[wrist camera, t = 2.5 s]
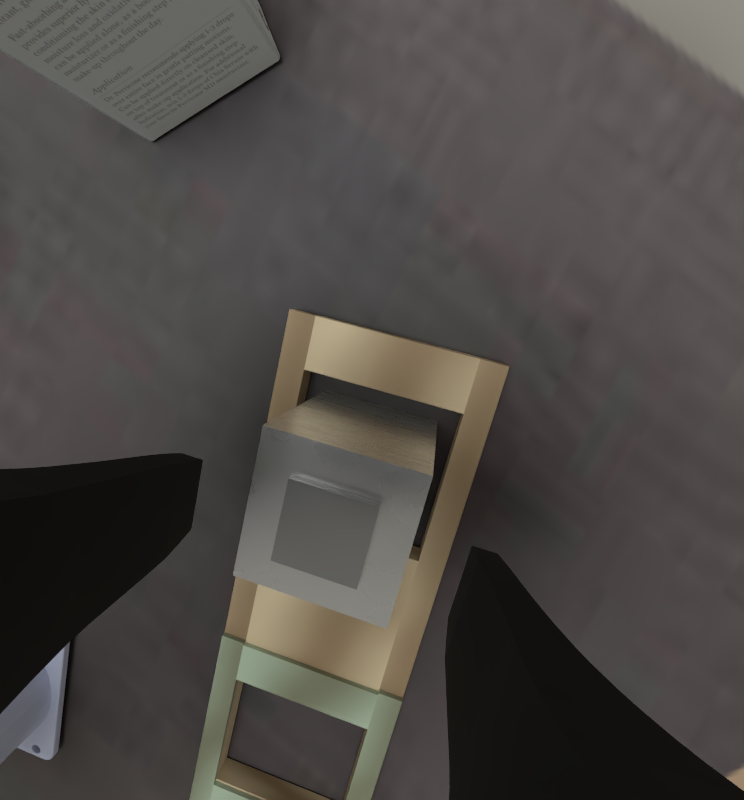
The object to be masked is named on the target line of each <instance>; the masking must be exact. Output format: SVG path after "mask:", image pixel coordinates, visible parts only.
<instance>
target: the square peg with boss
mask: <svg viewBox="0 0 744 800" xmlns="http://www.w3.org/2000/svg"><path fill="white" fill-rule="evenodd" d="M437 423H438V421H435V420H431V419H428V418H424V417H420V416H417V415H413V414H410V413H406V412H403V411H399V410H396V409H392V408H389V407H385V406H382V405H378V404H375V403H371V402H368V401H364V400H361V399H357V398H353V397H350V396H346V395H343V394H339V393H336V392H332V391H329V390H325V391H324V392H322V393H320V394H318V395H316V396H315V397H313V398H311V399H309V400H307V401H306V402H304V403H302V404H300V405H298V406H296V407H295V408H293V409H291V410H289V411H287V412H286V413H284V414H282V415H280V416H278V417H277V418H275V419H273V420H271V421H269V422H267V423H266V424H264V425H263V426H262V431H261V436H260V442H259V447H258V452H257V457H256V462H255V467H254V472H253V477H252V482H251V487H250V492H249V497H248V502H247V507H246V512H245V517H244V522H243V527H242V532H241V537H240V542H239V547H238V552H237V557H236V562H235V567H234V572H233V576H236V577H239V578H242V579H245V580H248V581H251V582H253V583H256V584H259V585H262V586H265V587H268V588H271V589H274V590H276V591H279V592H282V593H285V594H288V595H291V596H294V597H296V598H299V599H302V600H305V601H308V602H311V603H314V604H317V605H319V606H322V607H325V608H328V609H331V610H334V611H337V612H340V613H342V614H345V615H348V616H351V617H354V618H357V619H360V620H362V621H365V622H368V623H371V624H374V625H377V626H380V627H383V628H385V629H387V628H388V625H389V622H390V618H391V615H392V612H393V608H394V605H395V602H396V598H397V595H398V592H399V588H400V585H401V582H402V578H403V575H404V572H405V568H406V565H407V562H408V558H409V555H410V552H411V548H412V545H413V541H414V538H415V535H416V531H417V528H418V525H419V521H420V518H421V515H422V511H423V508H424V505H425V501H426V498H427V495H428V491H429V488H430V485H431V481H432V478H433V471H434V459H435V447H436V435H437Z"/></svg>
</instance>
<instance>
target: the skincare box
mask: <svg viewBox="0 0 744 800" xmlns="http://www.w3.org/2000/svg"><path fill="white" fill-rule="evenodd" d="M0 51H2V52H3V53H5V54H7V55H8V56H10V57H12V58H13V59H15V60H17V61H18V62H20V63H21V64H23V65H25V66H26V67H28V68H29V69H31V70H33V71H34V72H36V73H38V74H39V75H41V76H43V77H44V78H46V79H48V80H49V81H51V82H53V83H54V84H56V85H57V86H59V87H61V88H62V89H64V90H65V91H67V92H69V93H70V94H72V95H74V96H75V97H77V98H79V99H80V100H82V101H84V102H85V103H87V104H88V105H90V106H92V107H93V108H95V109H97V110H98V111H100V112H102V113H103V114H105V115H107V116H108V117H110V118H112V119H113V120H115V121H116V122H118V123H120V124H121V125H123V126H125V127H126V128H128V129H130V130H131V131H133V132H134V133H136V134H138V135H139V136H141V137H143V138H145V139H146V140H149V141H154V140H156V139H157V138H158V137H160V136H161V135H163V134H164V133H166V132H168V131H169V130H171V129H172V128H174V127H175V126H177V125H178V124H180V123H182V122H183V121H185V120H186V119H188V118H189V117H191V116H193V115H194V114H196V113H197V112H199V111H200V110H202V109H204V108H205V107H207V106H208V105H210V104H211V103H213V102H214V101H216V100H217V99H219V98H221V97H222V96H224V95H225V94H227V93H229V92H230V91H232V90H233V89H235V88H236V87H238V86H240V85H241V84H243V83H244V82H246V81H247V80H249V79H251V78H252V77H254V76H255V75H257V74H258V73H260V72H261V71H263V70H265V69H266V68H268V67H269V66H271V65H273V64H274V63H276V62H278V61H279V60H280V55H279V52H278V49H277V47H276V45H275V42H274V40H273V37H272V35H271V32H270V30H269V27H268V25H267V22H266V19H265V17H264V14H263V12H262V9H261V7H260V4H259V2H258V0H0Z"/></svg>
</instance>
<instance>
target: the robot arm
mask: <svg viewBox="0 0 744 800" xmlns="http://www.w3.org/2000/svg"><path fill="white" fill-rule="evenodd" d="M202 462H203V460H201V459H198V458H195V457H191V456H188V455H185V454H182V453H171V454H158V455H148V456H140V457H132V458H124V459H116V460H108V461H100V462H91V463H81V464H71V465H61V466H51V467H38V468H21V469H0V764H1V763H2V762H3V761H4V760H5V759H6V758H7V757H8V756H9V755H10V754H11V753H12V752H13V751H14V750H15V749H16V748H19V749H21V750H23V751H26V752H28V753H30V754H33V755H35V756H37V757H40V758H42V759H45V760H50V759H52V758H53V757H54V755H55V754H56V753H57V752H58V749H59V740H60V730H61V721H62V712H63V702H64V693H65V684H66V674H67V665H68V656H69V646H70V641H71V640H72V639H73V638H74V637H75V636H76V635H77V634H79V633H80V632H81V631H82V630H83V629H84V628H85V627H86V626H87V625H88V624H89V623H91V622H92V621H93V620H94V619H95V618H97V617H98V616H99V615H100V614H101V613H102V612H104V611H105V610H106V609H107V608H108V607H109V606H111V605H112V604H113V603H114V602H115V601H116V600H118V599H119V598H120V597H121V596H122V595H124V594H125V593H126V592H127V591H128V590H129V589H131V588H132V587H133V586H134V585H135V584H136V583H138V582H139V581H140V580H141V579H142V578H143V577H145V576H146V575H147V574H148V573H149V572H150V571H151V570H153V569H154V568H155V567H156V566H157V565H158V564H159V563H161V562H162V561H163V560H164V559H165V558H166V557H167V556H168V555H169V554H170V553H171V552H172V550H173V549H174V548H175V547H176V546H177V545H178V544H179V543H180V542H181V540H182V539H183V538H184V537H185V536H186V534H187V533H188V532H189V531H190V530H191V527H192V522H193V516H194V510H195V504H196V498H197V492H198V486H199V480H200V474H201V468H202ZM445 670H446V696H447V718H448V741H449V769H450V792H449V800H744V791H743V790H741V789H740V788H738V787H737V786H736V785H735V784H733V783H732V782H731V781H729V780H728V779H727V778H725V777H724V776H723V775H721V774H720V773H718V772H717V771H716V770H714V769H713V768H712V767H710V766H709V765H708V764H706V763H705V762H704V761H703V760H701V759H700V758H699V757H697V756H696V755H695V754H694V753H692V752H691V751H690V750H689V749H687V748H686V747H685V746H684V745H682V744H681V743H680V742H678V741H677V740H676V739H675V738H673V737H672V736H671V735H670V734H669V733H668V732H666V731H665V730H664V729H663V728H662V727H660V726H659V725H658V724H657V723H656V722H655V721H653V720H652V719H651V718H650V717H649V716H647V715H646V714H645V713H644V712H643V711H642V710H640V709H639V708H638V707H637V706H636V705H635V704H633V703H632V702H631V701H630V700H629V699H628V698H627V697H626V696H625V695H623V694H622V693H621V692H620V691H619V690H618V689H617V688H616V687H615V686H614V685H613V684H612V683H611V682H610V681H609V680H608V679H606V678H605V677H604V676H603V675H602V674H601V673H600V672H599V671H598V670H597V669H596V668H595V667H594V666H593V665H592V664H591V663H590V662H589V661H588V660H587V659H586V658H585V657H584V656H583V655H582V654H581V653H580V652H579V651H578V650H577V649H576V648H575V646H574V645H573V644H572V643H571V642H570V641H569V640H568V639H567V638H566V636H565V635H564V634H563V633H562V632H561V631H560V630H559V629H558V628H557V626H556V625H555V624H554V623H553V622H552V621H551V619H550V618H549V617H548V616H547V615H546V614H545V612H544V611H543V610H542V609H541V608H540V606H539V605H538V604H537V603H536V601H535V600H534V599H533V598H532V596H531V595H530V594H529V593H528V591H527V590H526V589H525V588H524V586H523V585H522V584H521V582H520V581H519V580H518V578H517V577H516V576H515V575H514V573H513V572H512V571H511V569H510V568H509V567H508V566H507V564H506V563H505V562H504V561H503V560H502V558H501V557H500V556H499V555H498V554H496V553H493V552H490V551H487V550H484V549H481V548H477V547H474V546H472V548H471V551H470V554H469V557H468V560H467V563H466V566H465V569H464V572H463V575H462V578H461V581H460V584H459V587H458V590H457V593H456V596H455V599H454V602H453V605H452V608H451V611H450V614H449V617H448V627H447V638H446V652H445Z"/></svg>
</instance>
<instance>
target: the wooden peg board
mask: <svg viewBox="0 0 744 800" xmlns="http://www.w3.org/2000/svg"><path fill="white" fill-rule="evenodd" d="M508 370H509V366H508V365H506V364H504V363H500V362H496V361H492V360H489V359H485V358H481V357H477V356H473V355H470V354H466V353H462V352H458V351H454V350H450V349H447V348H443V347H439V346H435V345H431V344H427V343H424V342H420V341H416V340H412V339H408V338H405V337H401V336H397V335H393V334H389V333H385V332H382V331H378V330H374V329H370V328H366V327H363V326H359V325H355V324H351V323H347V322H343V321H340V320H336V319H332V318H328V317H324V316H320V315H317V314H313V313H309V312H305V311H301V310H295V309H289V314H288V319H287V324H286V329H285V334H284V339H283V344H282V349H281V354H280V359H279V364H278V369H277V374H276V379H275V384H274V389H273V394H272V399H271V404H270V409H269V414H268V419H267V422H269V421H271V420H273V419H275V418H277V417H278V416H280V415H282V414H284V413H286V412H287V411H289V410H291V409H293V408H295V407H296V406H298V405H300V404H302V403H304V402H305V398H306V394H307V389H308V384H309V380H310V375H311V371H312V372H315V373H319V374H322V375H326V376H329V377H333V378H337V379H340V380H344V381H347V382H351V383H354V384H358V385H362V386H365V387H369V388H372V389H376V390H380V391H383V392H387V393H390V394H394V395H397V396H401V397H405V398H408V399H412V400H415V401H419V402H423V403H426V404H430V405H433V406H437V407H440V408H444V409H448V410H451V411H455V412H458V413H461V415H460V418H459V422H458V425H457V428H456V432H455V435H454V438H453V441H452V445H451V448H450V451H449V455H448V458H447V461H446V464H445V468H444V471H443V474H442V478H441V481H440V484H439V487H438V491H437V494H436V497H435V501H434V504H433V507H432V510H431V514H430V517H429V520H428V524H427V527H426V530H425V533H424V537H423V540H422V543H421V547H420V548H419V547H416V546H412V548H411V552H410V555H409V558H408V562H407V565H406V568H405V572H404V575H403V578H402V582H401V585H400V588H399V592H398V595H397V598H396V602H395V605H394V608H393V612H392V615H391V618H390V622H389V625H388V628H387V629H385V628H383V627H380V626H377V625H374V624H371V623H368V622H365V621H362V620H360V619H357V618H354V617H351V616H348V615H345V614H342V613H340V612H337V611H334V610H331V609H328V608H325V607H322V606H319V605H317V604H314V603H311V602H308V601H305V600H302V599H299V598H296V597H294V596H291V595H288V594H285V593H282V592H279V591H276V590H274V589H271V588H268V587H265V586H262V585H259V584H256V583H253V582H251V581H248V580H245V579H242V578H239V577H236V578H235V583H234V588H233V593H232V598H231V603H230V608H229V613H228V618H227V623H226V628H225V632H224V634H223V635H222V640H221V645H220V650H219V655H218V660H217V665H216V670H215V675H214V680H213V685H212V690H211V695H210V700H209V705H208V710H207V715H206V720H205V725H204V730H203V735H202V740H201V745H200V750H199V755H198V760H197V765H196V770H195V775H194V780H193V785H192V790H191V795H190V800H331V799H328V798H326V797H323V796H321V795H318V794H316V793H313V792H311V791H308V790H306V789H303V788H301V787H299V786H296V785H294V784H291V783H289V782H286V781H284V780H281V779H279V778H276V777H274V776H271V775H269V774H267V773H264V772H262V771H259V770H257V769H254V768H252V767H249V766H247V765H244V764H242V763H239V762H237V761H235V760H232V759H230V758H227V755H228V750H229V745H230V741H231V736H232V732H233V727H234V723H235V718H236V713H237V709H238V704H239V700H240V695H241V691H242V686H243V682H244V683H247V684H249V685H252V686H255V687H257V688H260V689H263V690H265V691H268V692H270V693H273V694H276V695H278V696H281V697H284V698H286V699H289V700H291V701H294V702H297V703H299V704H302V705H305V706H307V707H310V708H312V709H315V710H318V711H320V712H323V713H326V714H328V715H331V716H333V717H336V718H339V719H341V720H344V721H347V722H349V723H352V724H354V725H357V726H360V727H362V728H365V730H364V734H363V737H362V740H361V744H360V747H359V750H358V753H357V757H356V760H355V763H354V767H353V770H352V773H351V776H350V780H349V783H348V786H347V790H346V793H345V796H344V799H343V800H371V797H372V794H373V791H374V788H375V785H376V782H377V779H378V776H379V773H380V769H381V766H382V763H383V760H384V757H385V754H386V751H387V748H388V745H389V742H390V738H391V735H392V732H393V729H394V726H395V723H396V720H397V717H398V714H399V711H400V708H401V704H402V700H403V695H404V692H405V689H406V686H407V683H408V680H409V677H410V674H411V671H412V668H413V664H414V661H415V658H416V655H417V652H418V649H419V646H420V643H421V640H422V637H423V633H424V630H425V627H426V624H427V621H428V618H429V615H430V612H431V609H432V606H433V602H434V599H435V596H436V593H437V590H438V587H439V584H440V581H441V578H442V575H443V571H444V568H445V565H446V562H447V559H448V556H449V553H450V550H451V547H452V544H453V540H454V537H455V534H456V531H457V528H458V525H459V522H460V519H461V516H462V513H463V509H464V506H465V503H466V500H467V497H468V494H469V491H470V488H471V485H472V482H473V478H474V475H475V472H476V469H477V466H478V463H479V460H480V457H481V454H482V451H483V447H484V444H485V441H486V438H487V435H488V432H489V429H490V426H491V423H492V420H493V416H494V413H495V410H496V407H497V404H498V401H499V398H500V395H501V392H502V389H503V385H504V382H505V379H506V376H507V373H508Z"/></svg>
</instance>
